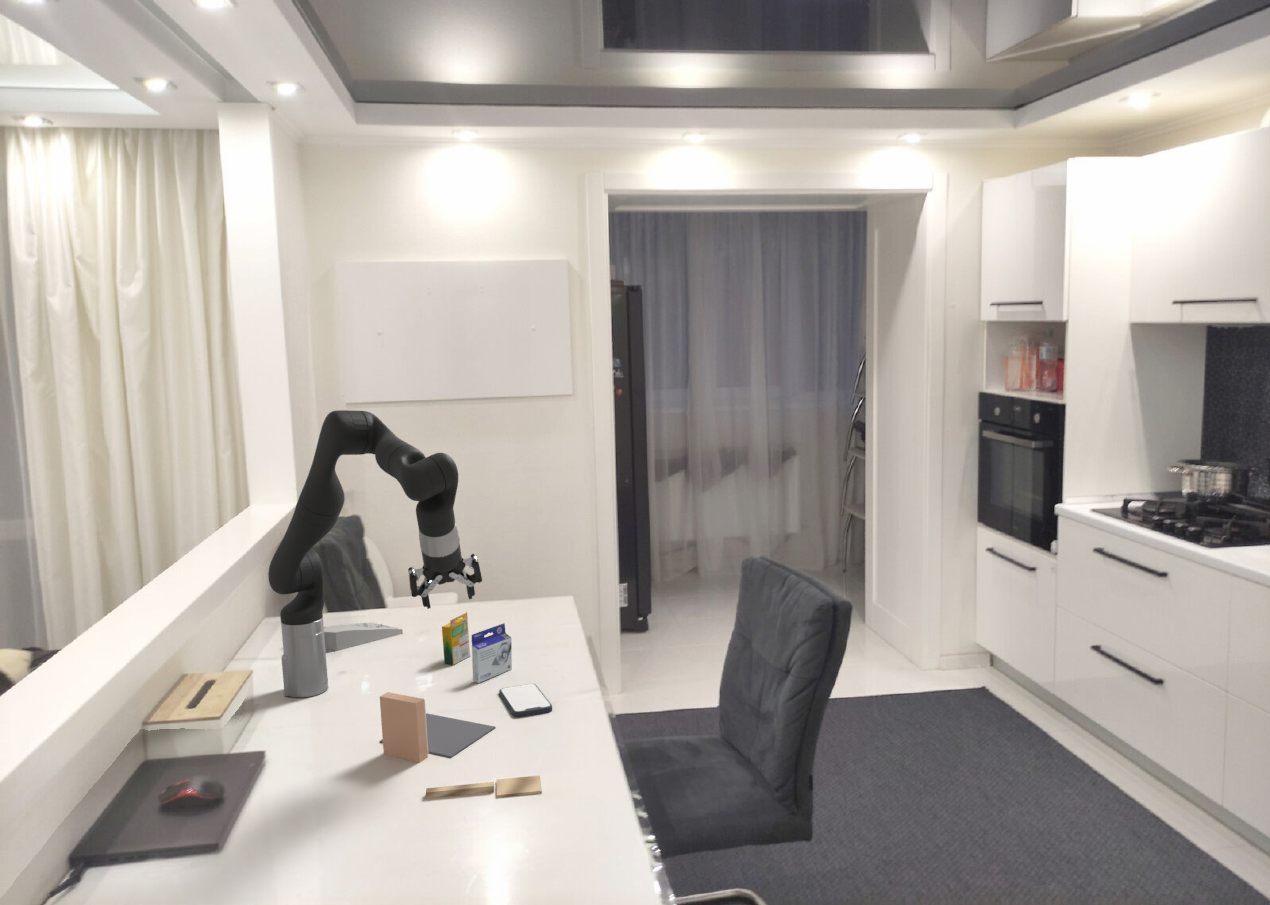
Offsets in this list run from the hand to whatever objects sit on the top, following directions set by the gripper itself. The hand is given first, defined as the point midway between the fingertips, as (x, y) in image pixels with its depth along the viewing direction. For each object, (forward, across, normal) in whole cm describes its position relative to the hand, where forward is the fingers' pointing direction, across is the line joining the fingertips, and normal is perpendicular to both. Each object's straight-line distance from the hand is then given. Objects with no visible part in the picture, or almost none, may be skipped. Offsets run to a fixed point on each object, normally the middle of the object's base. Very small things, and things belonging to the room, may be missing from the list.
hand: (449, 601), depth 199 cm
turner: (+10, 0, +39) cm, 41 cm away
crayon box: (+44, -1, -23) cm, 50 cm away
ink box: (+39, -8, -10) cm, 41 cm away
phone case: (+30, -13, +6) cm, 34 cm away
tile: (+18, +14, +21) cm, 31 cm away
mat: (+22, +7, +15) cm, 28 cm away
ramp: (+55, +25, -48) cm, 77 cm away
